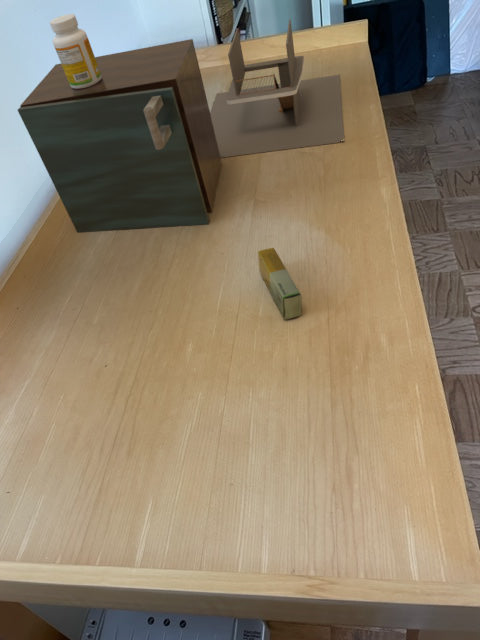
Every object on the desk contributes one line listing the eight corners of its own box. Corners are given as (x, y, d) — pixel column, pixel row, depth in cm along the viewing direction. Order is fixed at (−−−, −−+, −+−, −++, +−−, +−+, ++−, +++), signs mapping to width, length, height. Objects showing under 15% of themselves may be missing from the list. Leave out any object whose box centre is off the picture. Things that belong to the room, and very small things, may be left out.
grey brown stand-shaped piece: (339, 74, 132) (335, -3, 120) (344, 141, 107) (339, 53, 96) (216, 93, 138) (201, 22, 127) (194, 160, 114) (172, 80, 102)
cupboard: (212, 213, 98) (175, 78, 81) (79, 229, 103) (19, 105, 86) (222, 164, 111) (192, 38, 94) (103, 180, 116) (55, 64, 99)
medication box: (302, 316, 75) (302, 294, 72) (284, 321, 74) (283, 299, 72) (274, 266, 83) (273, 245, 80) (258, 270, 83) (256, 249, 80)
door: (202, 242, 92) (161, 105, 75) (66, 249, 99) (1, 124, 82) (209, 221, 96) (172, 86, 80) (79, 229, 103) (19, 107, 86)
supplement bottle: (89, 74, 91) (65, 11, 84) (108, 77, 88) (86, 12, 81) (64, 88, 88) (38, 24, 82) (84, 91, 85) (58, 25, 79)
